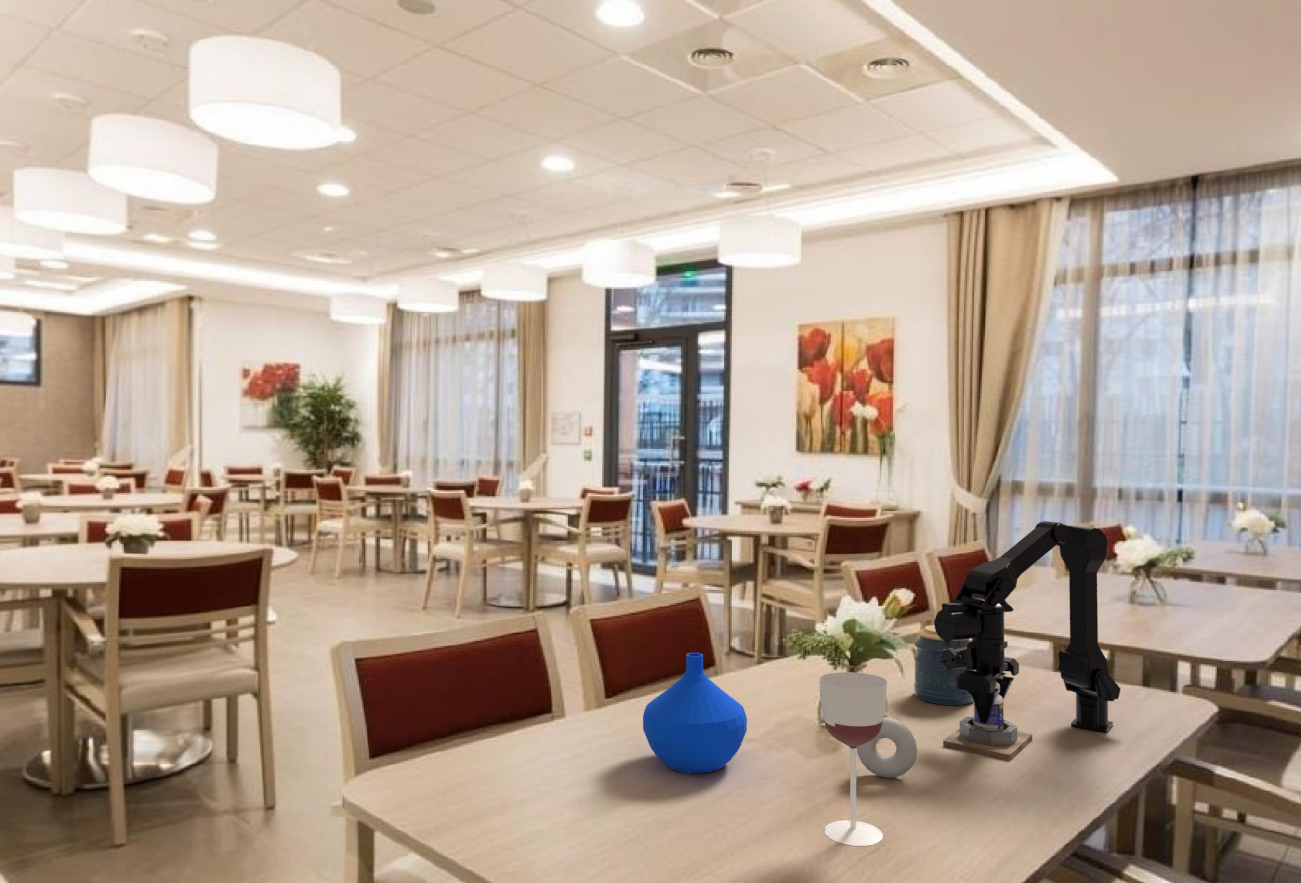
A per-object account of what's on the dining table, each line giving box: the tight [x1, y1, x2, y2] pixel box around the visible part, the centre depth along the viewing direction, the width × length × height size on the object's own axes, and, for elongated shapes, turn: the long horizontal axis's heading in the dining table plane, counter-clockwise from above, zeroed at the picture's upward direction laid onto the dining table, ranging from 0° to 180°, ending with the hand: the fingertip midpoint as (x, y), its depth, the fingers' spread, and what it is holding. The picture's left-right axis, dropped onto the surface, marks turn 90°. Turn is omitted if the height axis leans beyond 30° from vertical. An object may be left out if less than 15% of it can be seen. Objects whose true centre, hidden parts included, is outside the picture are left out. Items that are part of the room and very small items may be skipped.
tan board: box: [942, 728, 1033, 761], centre depth 163 cm, size 14×12×1 cm
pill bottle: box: [973, 683, 1005, 730], centre depth 163 cm, size 5×5×9 cm
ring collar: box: [959, 716, 1018, 746], centre depth 163 cm, size 9×9×2 cm
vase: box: [642, 652, 748, 774], centre depth 153 cm, size 18×18×19 cm
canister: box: [913, 624, 976, 706], centre depth 192 cm, size 13×13×18 cm
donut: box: [856, 716, 918, 779], centre depth 146 cm, size 10×4×10 cm, turn 71°
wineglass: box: [819, 671, 888, 847], centre depth 125 cm, size 9×10×22 cm
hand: (988, 719), depth 163 cm, fingers open, 5 cm apart
